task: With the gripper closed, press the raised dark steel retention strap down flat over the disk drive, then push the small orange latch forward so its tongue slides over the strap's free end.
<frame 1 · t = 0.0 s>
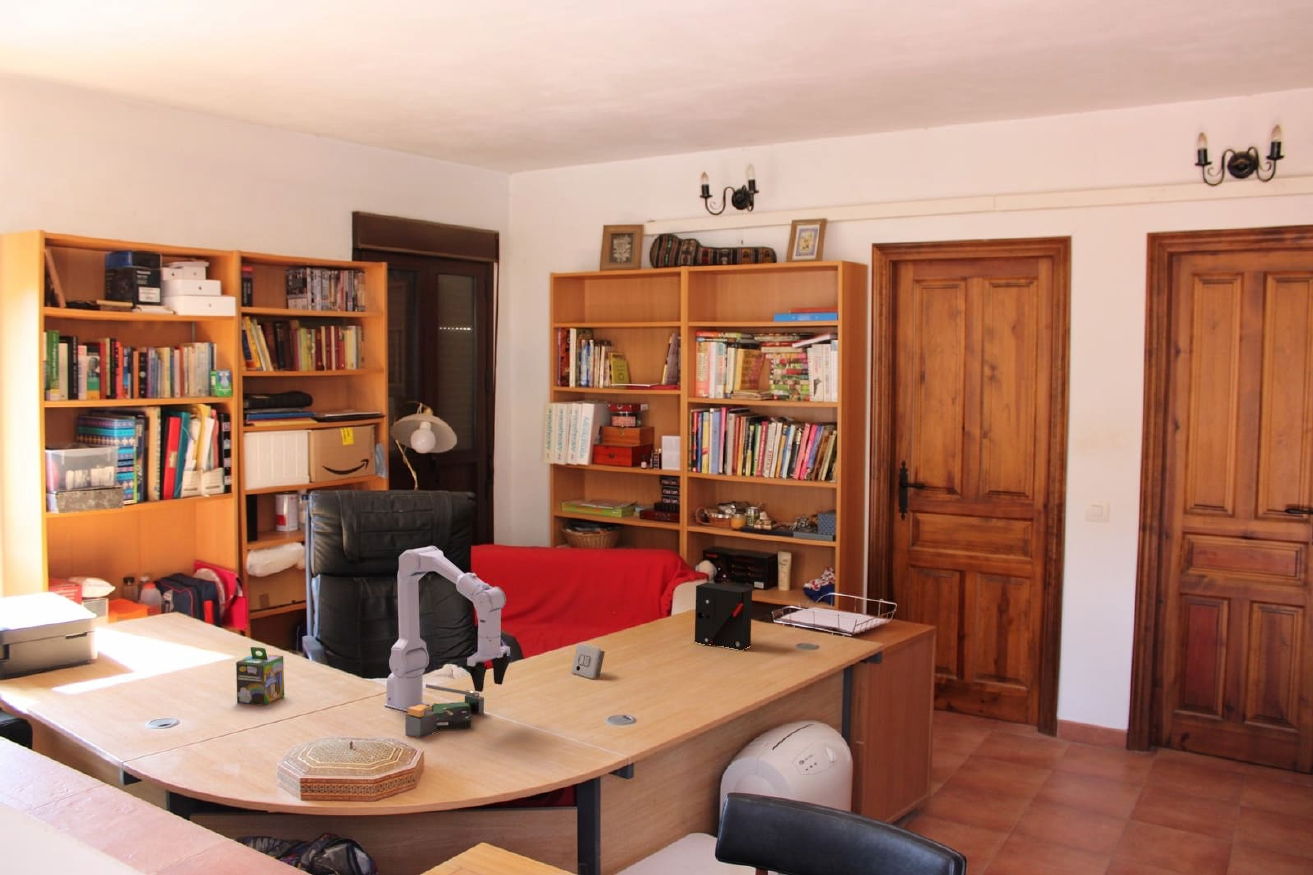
hand: (488, 687, 276), 10 cm above the table, tool pointing down, fingers open, 7 cm apart
strap: (452, 690, 279), point 8 cm above the table, hinge at 20.0°
electrical component: (723, 645, 363), on the table
chalk box: (260, 700, 294), on the table
clamp posts: (451, 721, 279), on the table
electrical switch: (587, 675, 325), on the table
disk drive: (451, 721, 279), on the table, touching clamp posts
latch: (419, 710, 268), point 6 cm above the table, slide at 0.0 cm
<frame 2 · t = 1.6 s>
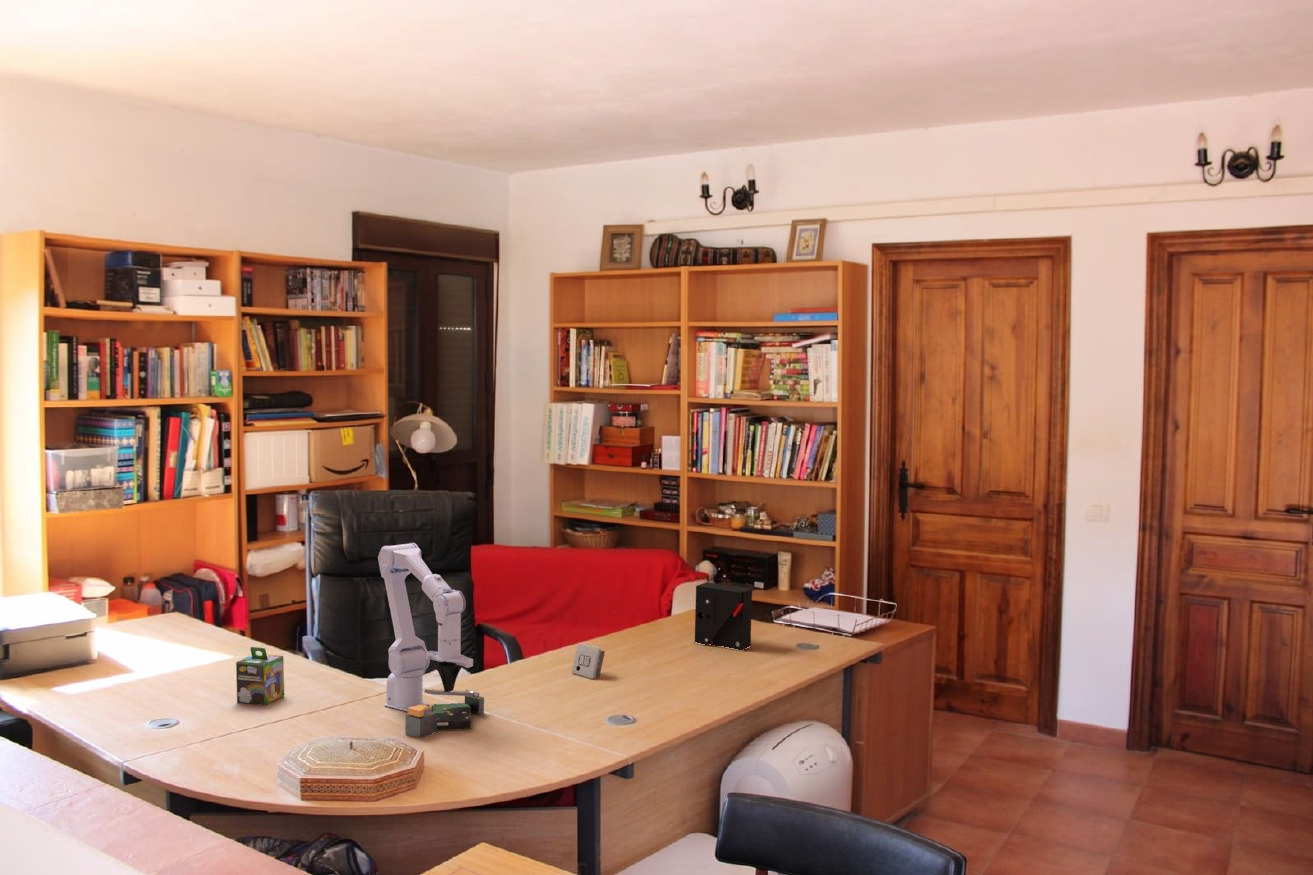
hand: (448, 690, 277), 9 cm above the table, tool pointing down, fingers closed, pressing on strap
strap: (451, 692, 279), point 8 cm above the table, hinge at 15.6°, touching gripper
disk drive: (451, 722, 279), on the table, touching clamp posts
everything else where it was.
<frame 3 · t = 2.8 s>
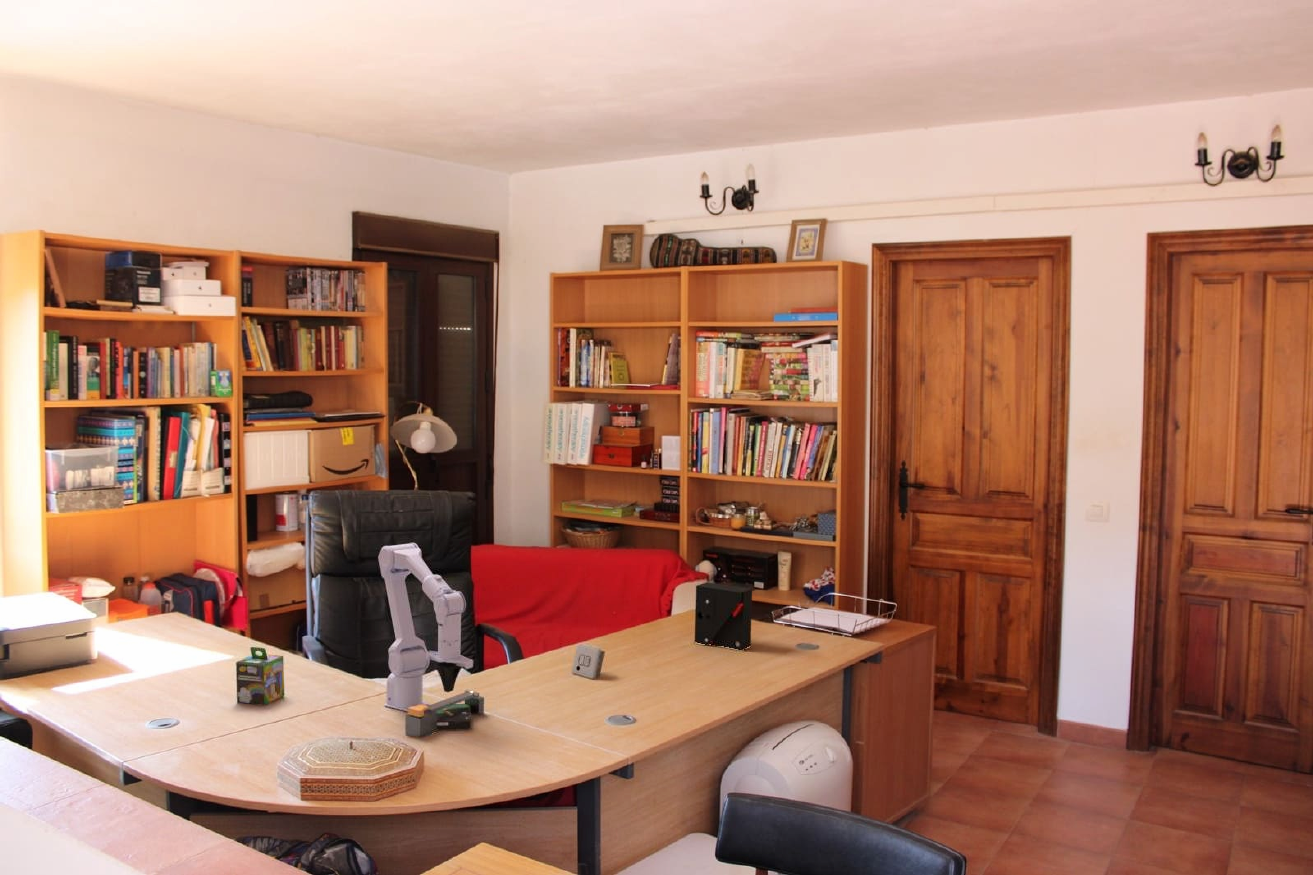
hand: (448, 691, 278), 8 cm above the table, tool pointing down, fingers closed
strap: (450, 701, 278), point 5 cm above the table, hinge at 0.0°, touching clamp posts
everything else where it was.
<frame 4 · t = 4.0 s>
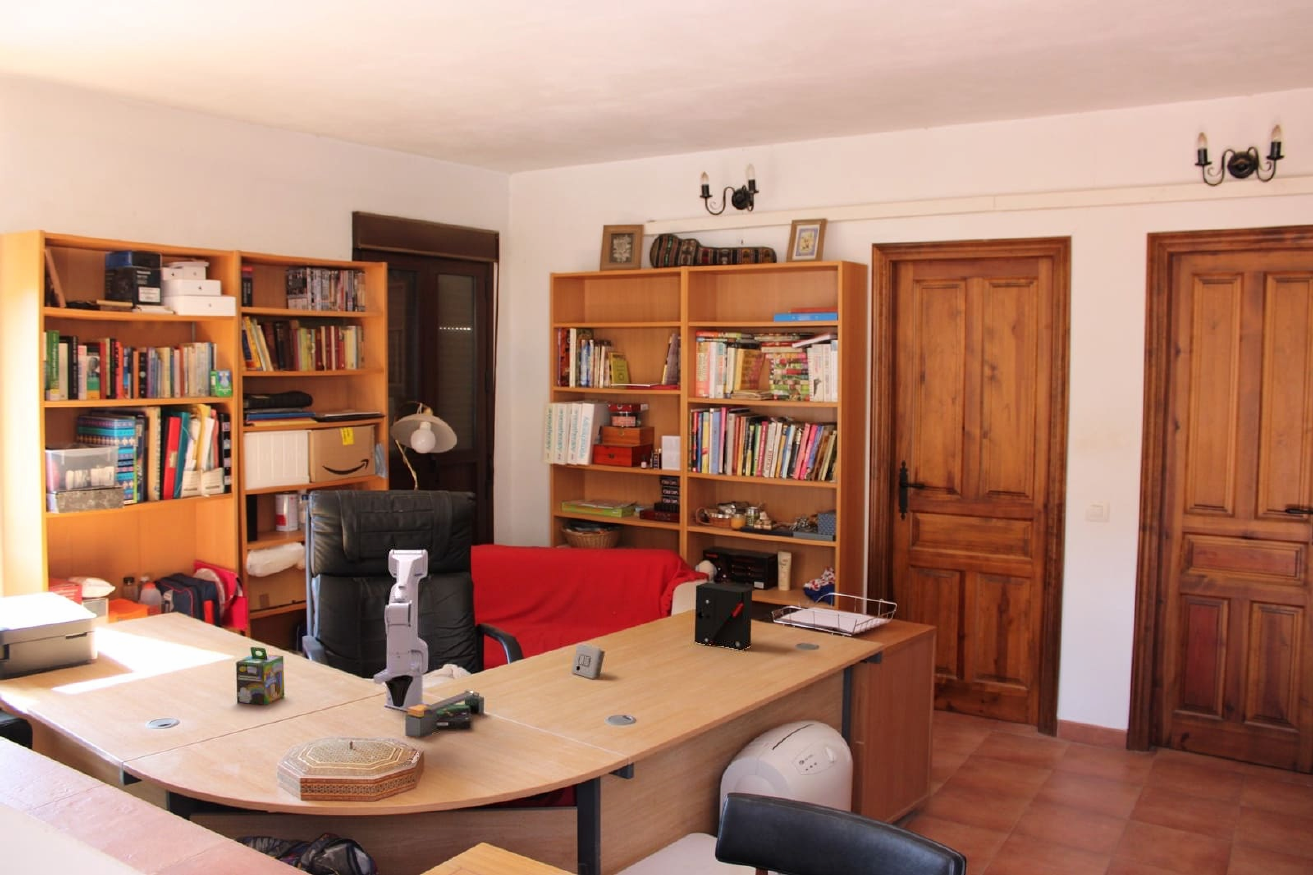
hand: (398, 706, 262), 9 cm above the table, tool pointing down, fingers closed
nothing on the table moved.
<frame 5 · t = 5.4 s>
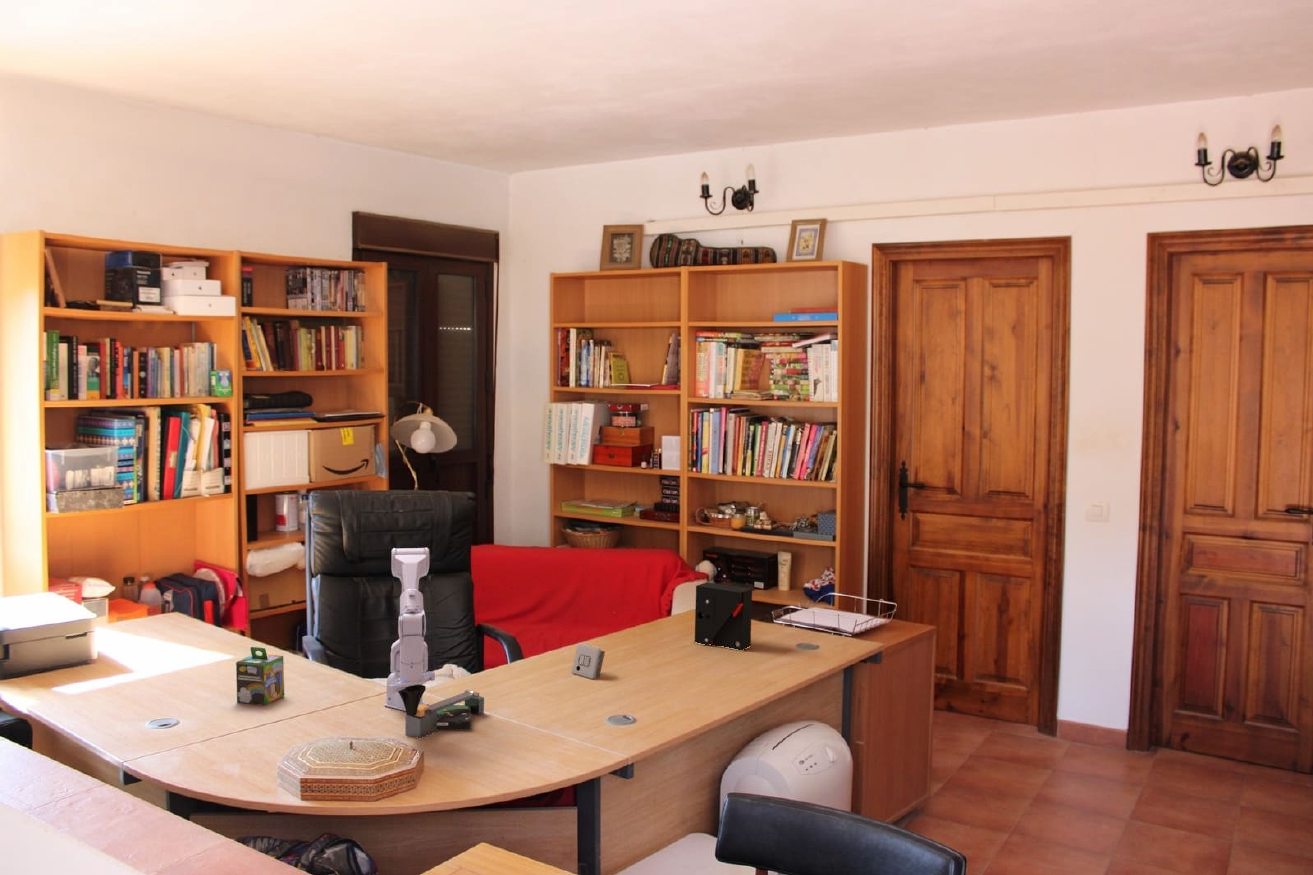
hand: (411, 715, 266), 6 cm above the table, tool pointing down, fingers closed
latch: (419, 710, 269), point 6 cm above the table, slide at 0.2 cm, touching gripper
everything else where it was.
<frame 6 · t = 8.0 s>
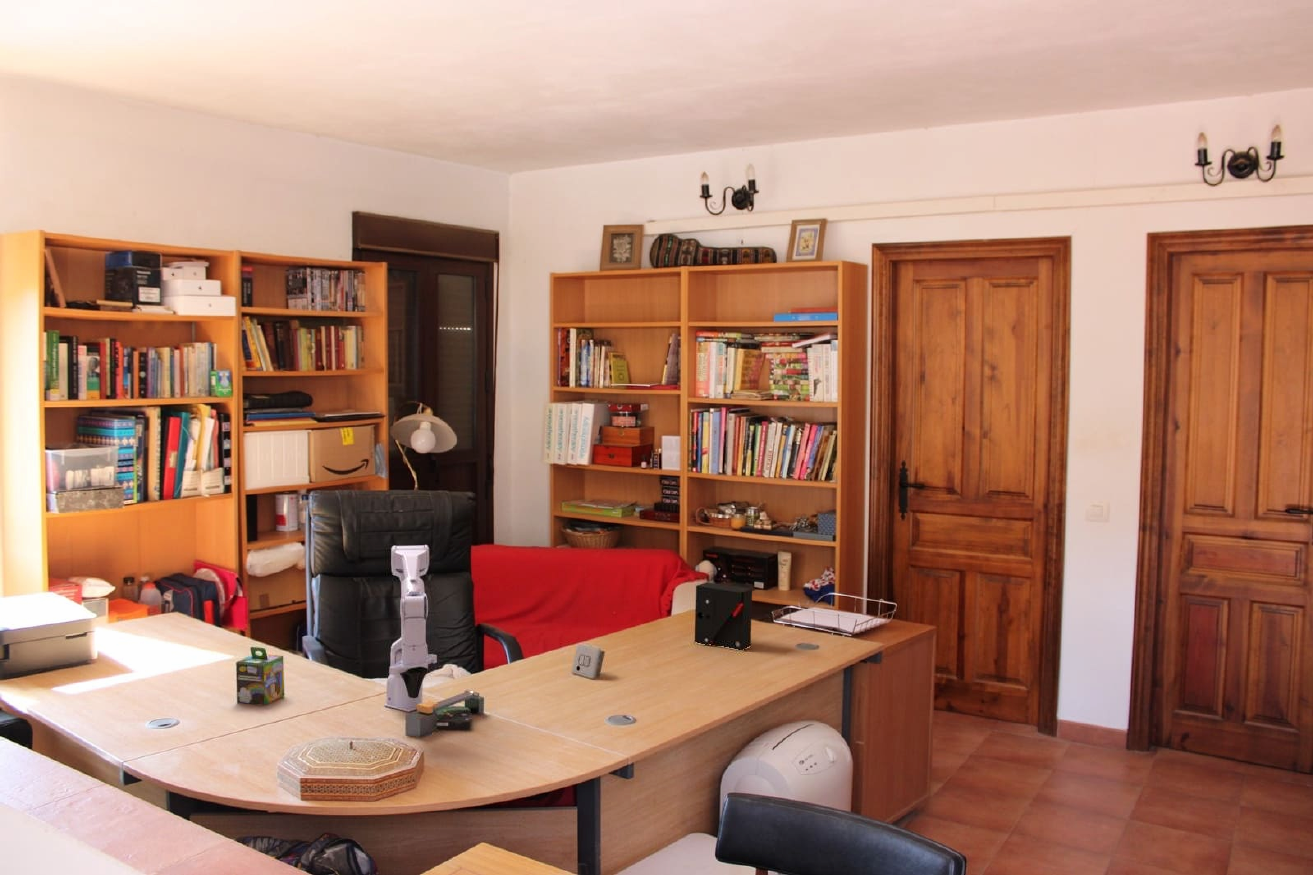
hand: (413, 697, 267), 10 cm above the table, tool pointing down, fingers closed
latch: (428, 707, 271), point 6 cm above the table, slide at 3.2 cm
everything else where it was.
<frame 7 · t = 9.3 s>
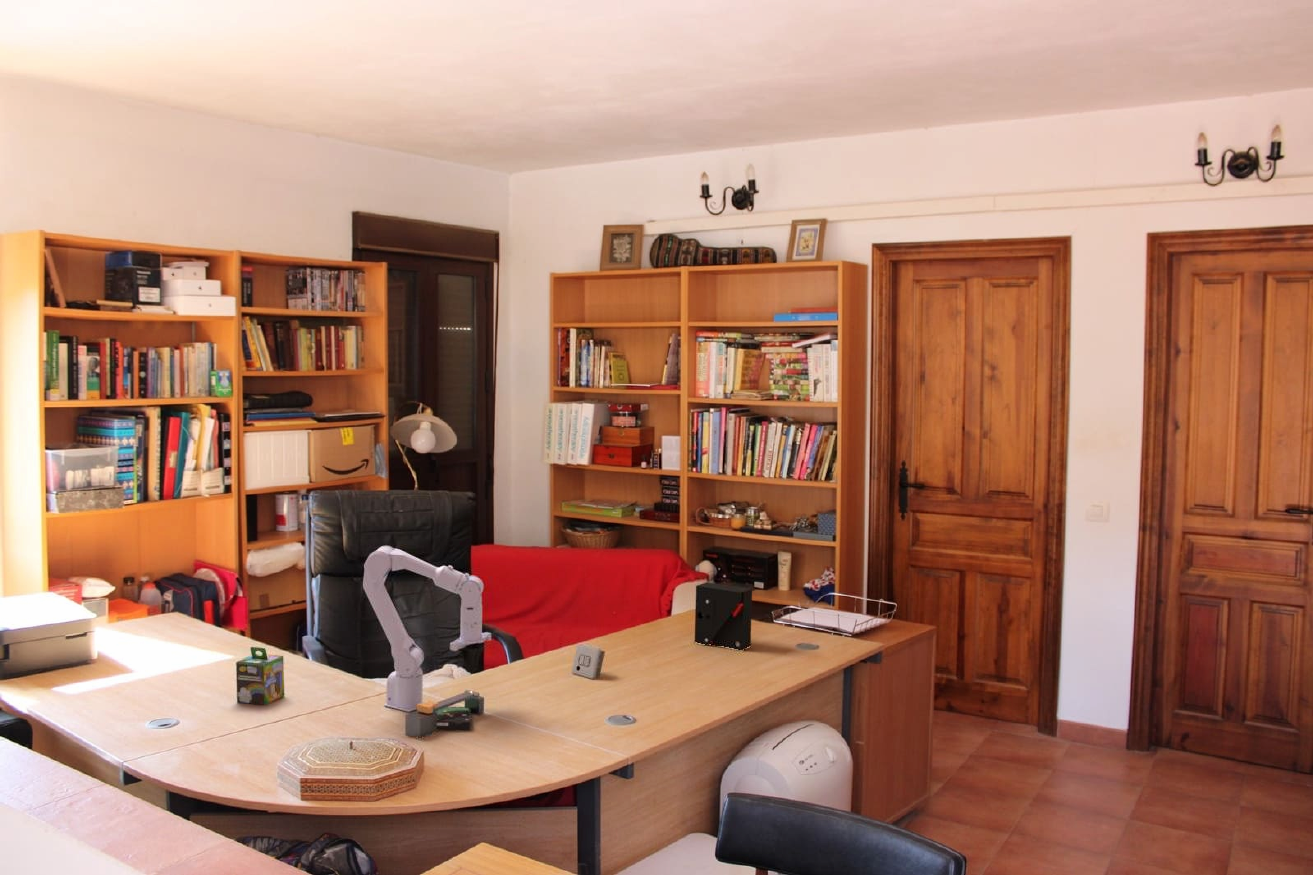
hand: (470, 671, 291), 10 cm above the table, tool pointing down, fingers closed
nothing on the table moved.
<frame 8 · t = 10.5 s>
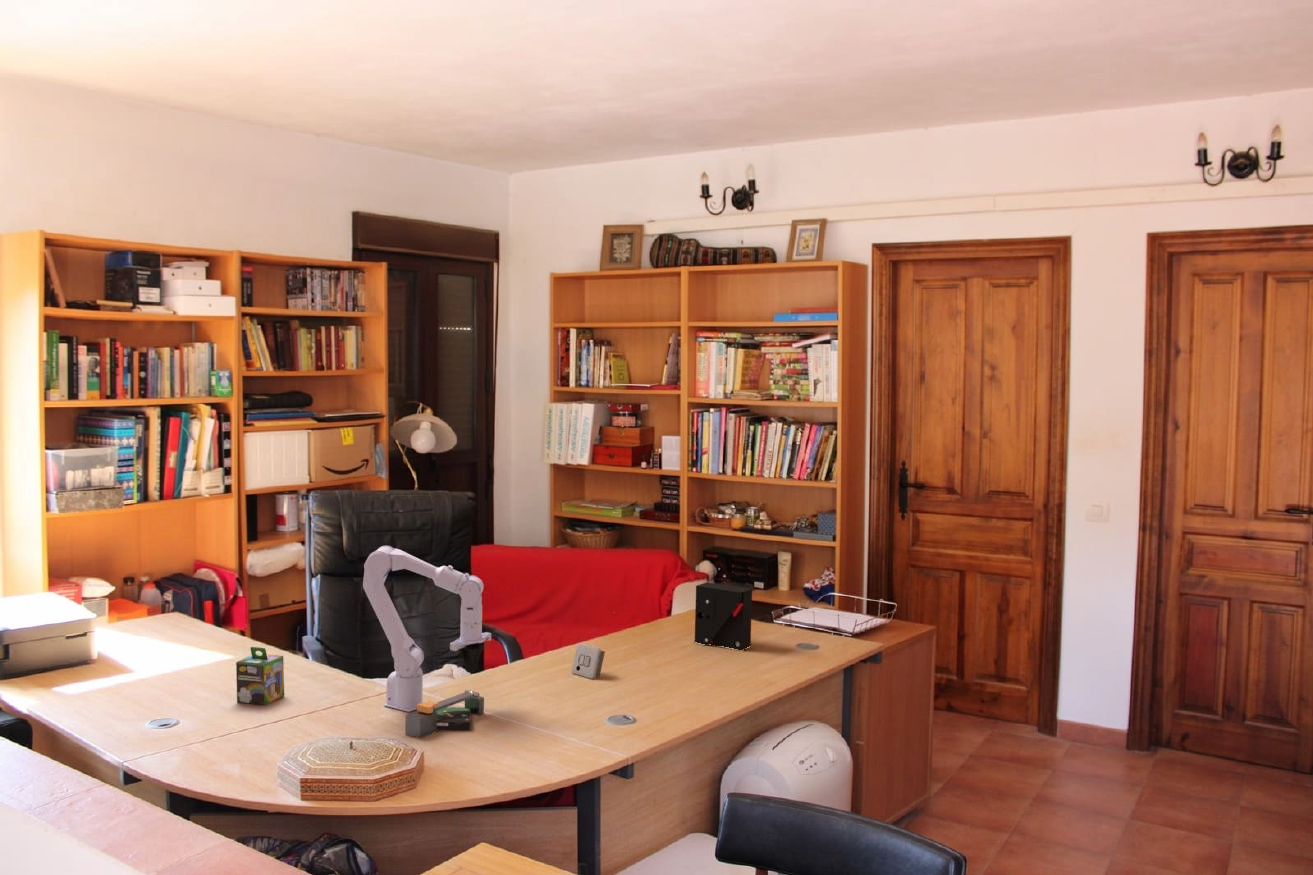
hand: (470, 671, 291), 10 cm above the table, tool pointing down, fingers closed
nothing on the table moved.
at the end: strap at +0° (first picture: +20°); latch slide at 3.2 cm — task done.
